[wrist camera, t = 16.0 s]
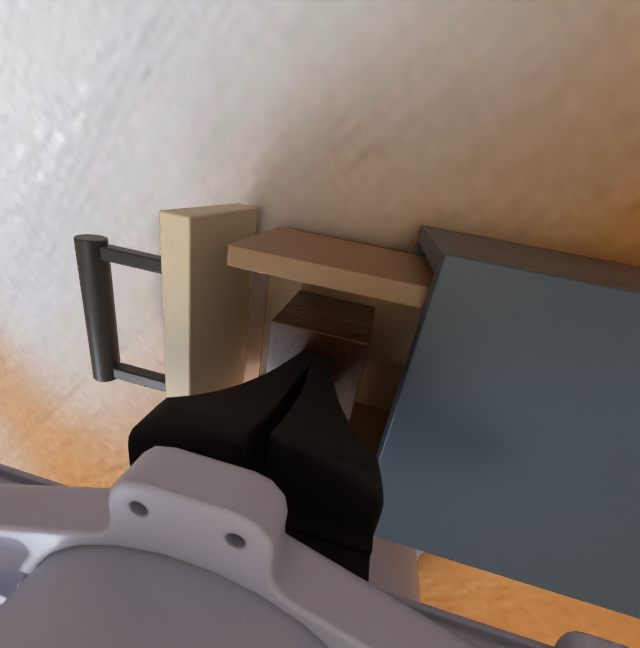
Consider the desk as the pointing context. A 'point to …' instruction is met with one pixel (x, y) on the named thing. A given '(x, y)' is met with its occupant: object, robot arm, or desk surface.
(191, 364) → the drawer
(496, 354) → the cabinet
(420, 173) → the desk surface
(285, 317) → the block
